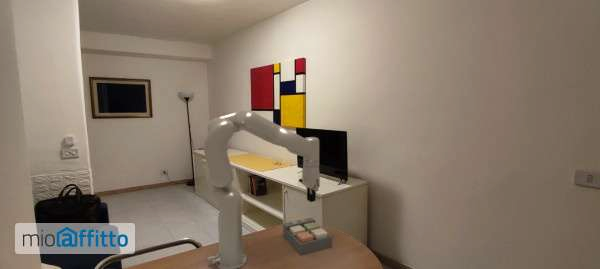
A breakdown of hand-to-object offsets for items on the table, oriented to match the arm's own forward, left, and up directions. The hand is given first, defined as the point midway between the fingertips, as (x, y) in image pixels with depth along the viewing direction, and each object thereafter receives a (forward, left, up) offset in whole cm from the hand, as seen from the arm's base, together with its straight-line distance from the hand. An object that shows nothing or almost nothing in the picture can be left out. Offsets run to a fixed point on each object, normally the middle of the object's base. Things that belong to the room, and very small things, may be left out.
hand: (311, 200), depth 138 cm
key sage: (0, 0, -15) cm, 15 cm away
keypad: (-4, -2, -19) cm, 20 cm away
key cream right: (0, -8, -15) cm, 16 cm away
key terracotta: (-8, -7, -15) cm, 18 cm away
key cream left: (-8, 0, -15) cm, 16 cm away
